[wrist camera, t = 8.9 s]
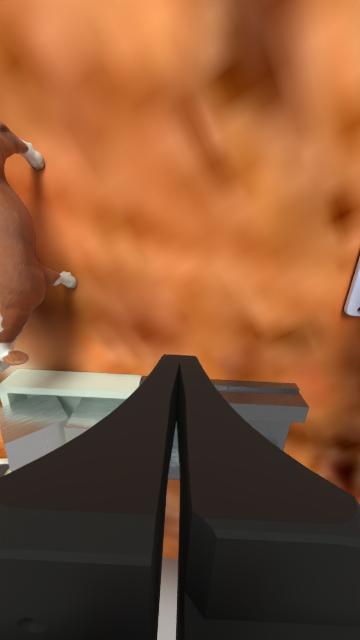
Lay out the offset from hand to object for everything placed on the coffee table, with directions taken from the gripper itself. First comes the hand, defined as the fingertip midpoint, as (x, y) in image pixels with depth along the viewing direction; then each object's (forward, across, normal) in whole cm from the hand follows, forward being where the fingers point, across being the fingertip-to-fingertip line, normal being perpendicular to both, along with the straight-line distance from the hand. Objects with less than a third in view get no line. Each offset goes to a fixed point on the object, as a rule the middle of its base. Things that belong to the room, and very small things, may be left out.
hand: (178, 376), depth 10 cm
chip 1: (+8, +12, +10) cm, 18 cm away
